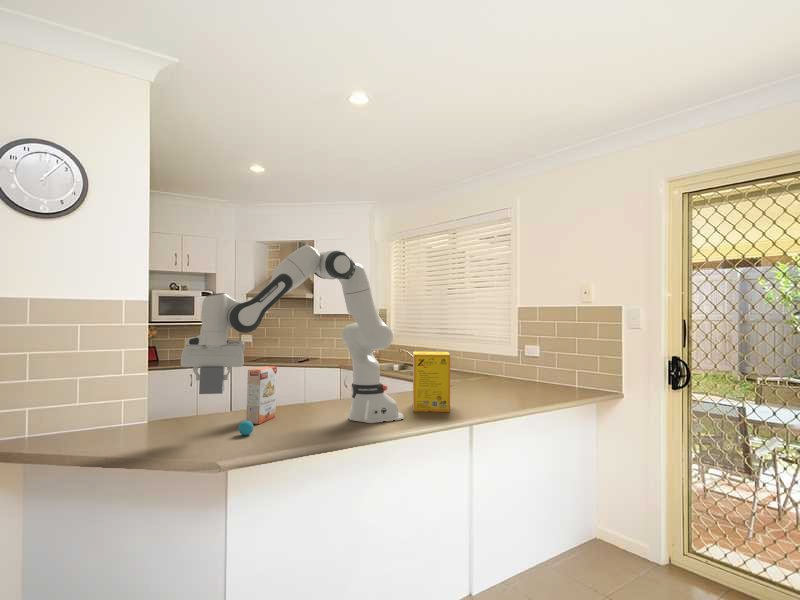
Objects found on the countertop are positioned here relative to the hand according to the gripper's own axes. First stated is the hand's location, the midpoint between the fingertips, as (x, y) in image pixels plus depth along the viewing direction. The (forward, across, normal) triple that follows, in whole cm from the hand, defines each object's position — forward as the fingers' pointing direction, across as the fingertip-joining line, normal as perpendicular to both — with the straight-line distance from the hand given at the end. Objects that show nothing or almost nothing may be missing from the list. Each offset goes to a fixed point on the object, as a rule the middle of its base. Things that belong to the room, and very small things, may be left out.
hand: (212, 380), depth 161 cm
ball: (+17, -12, 0) cm, 20 cm away
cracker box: (+19, -17, -22) cm, 34 cm away
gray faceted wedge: (+4, 0, 0) cm, 4 cm away
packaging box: (+18, -91, -30) cm, 97 cm away
